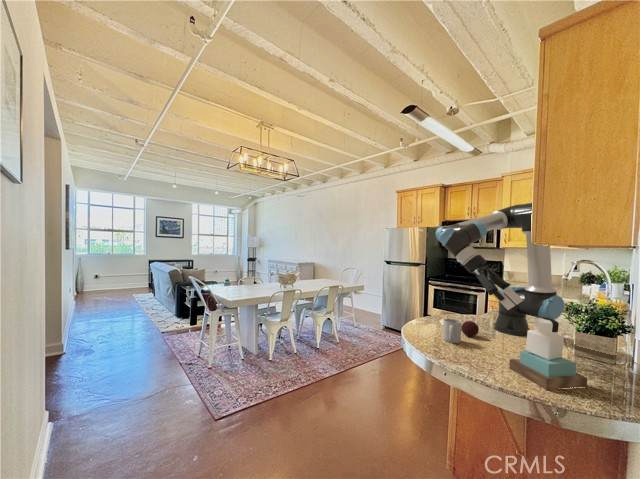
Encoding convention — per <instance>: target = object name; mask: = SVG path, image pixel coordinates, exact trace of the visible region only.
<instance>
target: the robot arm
mask: <svg viewBox="0 0 640 479" xmlns="http://www.w3.org/2000/svg"><path fill="white" fill-rule="evenodd" d="M532 203H533V202H529V203H528V202H527V203H523V204H522V203H521V204H514V205H511V206H507V207H504V208H501V209H498V210H495V211H493V212H491V214H488V215H484V216H481V217H480V216H479V217H476V218H473V219H469V220H466V221H462V222H458V223H455V224H451V225H444V226H439V227H438V228H437V229H436V231H435V238H436V239H437V241H438V242H440V243H441V244H442V246H443V247H444V248H445V249H446V250H447V251H448V252H449V253H450V254H451V255H452V256H453V257H454V258H455V259H456V261H457V263H459V264H461V265H462V266H464V268H465V269H466V271H467V272H468V273H470V274H473V275H474V276H475V277H476V278H477V279H478V281H479V282H480V283H481V285H482V286H483V288H484V289H485V290H486V292H487V294H488V295H489V296H492V295H493V297H494V298H496V300H497V301H498V314H497V316H496V319H495V322H494V324H493V328H494V330H495V331H498V332H500V333H503V334H506V335H507V334H508V335H511V336H518V337H519V336H520V337H527V331H528V330H531V329H530V327H529V324H528V320H527V316H531V317H534V318H537V317H546V318H550V319H553V320H555V321H556V320H557V319H558V318H560V316H561V315H562V314H563V312H564V308H565V300H564V299H563V298H562V297H561V295H560V296H559V295H557V294H558V293H557V292H558V291H557V289H556V288H555V287H553V281H552V278H553V276H552V257H551V256H552V255H551V245H550V246H543V245H537V244H534V243H531V214H532ZM504 229H521V232H522V234H524V235H525V239H526V259H527V276H528V277H527V278H528V279H527V280H528V282H527V283H528V284H527V286H511V283H509V282H507V281H505V280H504V279H503V278H502V277H501V276H499V275H498V274H497V273H496V272H494V271H493V270H492V269H491V268H490V267H489V266H487V267H486V266H484V265H486V264H487V260H486V259H485V258H484V257H483V255H482V254H479V251H478V250H476V249H475V248H474V247H473V246H472V244H473V243H475V242H478V241H480V240H482V239H483V238H484V237H485V236H487V233H488V232H489V231H493V230H499V231H501V230H504Z"/></svg>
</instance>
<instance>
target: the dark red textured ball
mask: <svg viewBox="0 0 640 479" xmlns="http://www.w3.org/2000/svg"><path fill="white" fill-rule="evenodd" d="M479 330H480V329H479V326H478V324H477V323H476V322H475V321H471V320H467V321H464V322H463V323H461V333H462V334H464V335H465V336H468V337H475V336H476V335H477V334H479V332H480V331H479Z"/></svg>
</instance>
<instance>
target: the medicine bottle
mask: <svg viewBox="0 0 640 479" xmlns="http://www.w3.org/2000/svg"><path fill="white" fill-rule="evenodd" d="M534 318H535V320H534V325H533V326H534V328H533V329H530V330H528V331H527V336H526V342H525V350H524V351H528V352H530V353H533V354H535V355H537V356H540V357H542V358H544V359H546V360H552V359H556V358H560V357H562V356H563V352H564V351H563V349H564V344H565V343H564V342H565V341H564V340H565V336H563V335H561V334H558V333H559V326H560V323H559V322H558V321H557V320H556V319H555V320H553V319H550V318H546V317H534ZM562 358H563V357H562Z"/></svg>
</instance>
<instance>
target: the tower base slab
mask: <svg viewBox="0 0 640 479" xmlns="http://www.w3.org/2000/svg"><path fill="white" fill-rule="evenodd" d="M508 363H509V366H508V367H509V368H508V369H509V370H511V371H513V372H515V373H517V374H518V375H520V376H521V377H523V378H525V379H527V380H528V381H530V382H531V383H534V384H536V385H537V386H539V387H541V389H544V390H546V391H549V390H548V389H558V388H570V387H571V388H572V387H573V388H574V387H587V388H588V377H587V376H584V375H582V374H580V373H577V372H576V376H561V377H547V376H545V375H543V374H541V373H539V372H537V371H535V370H533V369H531V368H529V367H527V366H525V365H523V364H521V363H520V358H509V362H508Z"/></svg>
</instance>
